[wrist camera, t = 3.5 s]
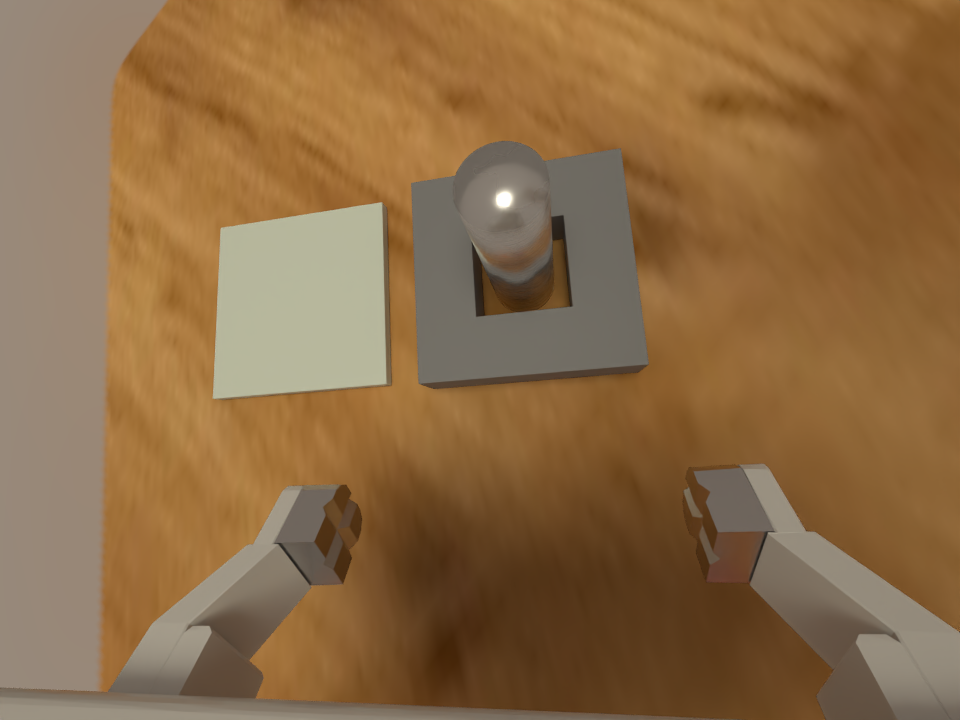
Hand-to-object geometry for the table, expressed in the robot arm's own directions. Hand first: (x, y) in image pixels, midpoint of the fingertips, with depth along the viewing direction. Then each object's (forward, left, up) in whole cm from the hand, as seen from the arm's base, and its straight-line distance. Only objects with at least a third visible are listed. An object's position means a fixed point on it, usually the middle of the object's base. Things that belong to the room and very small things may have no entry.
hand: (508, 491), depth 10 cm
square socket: (-9, -5, -15) cm, 18 cm away
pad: (-2, -18, -15) cm, 24 cm away
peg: (-9, -5, -15) cm, 18 cm away
